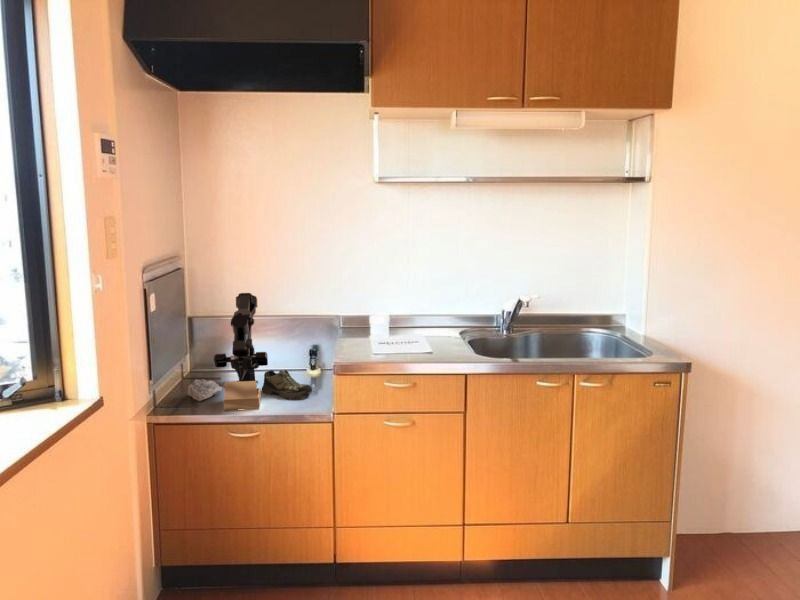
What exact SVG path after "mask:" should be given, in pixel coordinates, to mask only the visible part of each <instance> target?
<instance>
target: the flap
mask: <svg viewBox="0 0 800 600" xmlns="http://www.w3.org/2000/svg"><path fill="white" fill-rule="evenodd" d="M257 381H258V380H256V381H242V382H236V381H225V382H224V397H225V400H230V399H250V398H257V388H258V387H257V384H258V383H257Z"/></svg>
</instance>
